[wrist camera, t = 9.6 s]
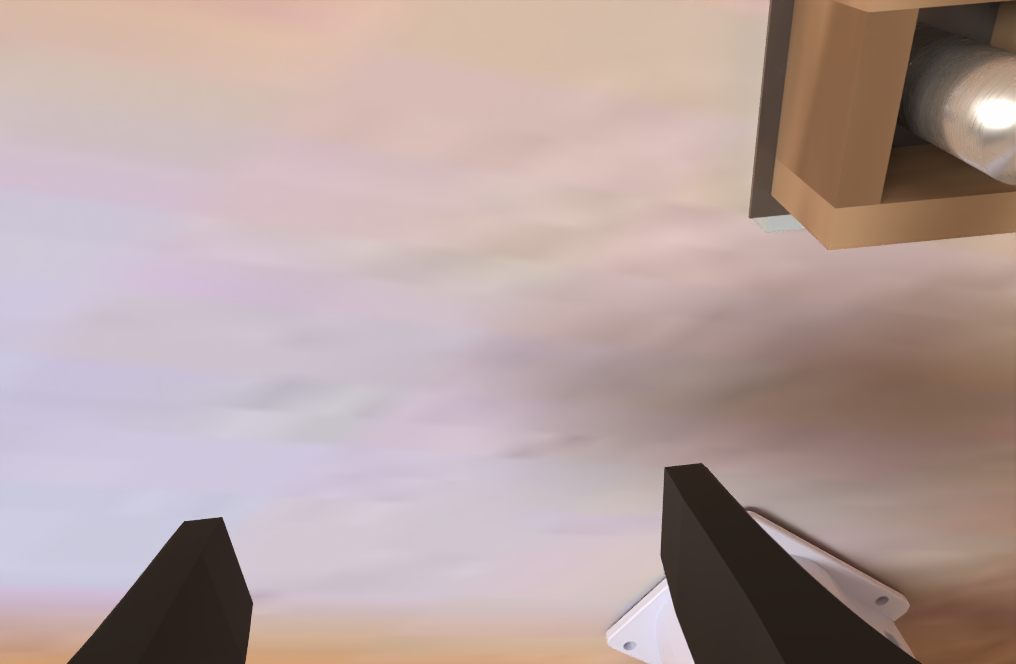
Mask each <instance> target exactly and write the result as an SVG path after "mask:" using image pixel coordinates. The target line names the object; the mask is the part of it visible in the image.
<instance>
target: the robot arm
mask: <svg viewBox="0 0 1016 664" xmlns="http://www.w3.org/2000/svg"><path fill="white" fill-rule="evenodd" d="M661 559H662V563H663V567H664V571H665V575H666V578H665V579H664V580H663V581H662V582H661V583H660V584H659V585H657V586H656V587H655V588H654V589H653V590H652V591H651V592H650V593H649V594H648V595H646V596H645V597H644V598H643V599H642V600H641V601H640V602H639V603H638V604H637V605H635V606H634V607H633V608H632V609H631V610H630V611H629V612H628V613H627V614H626V615H624V616H623V617H622V618H621V619H620V620H619V621H618V622H617V623H616V624H615V625H613V626H612V627H611V628H610V629H609V630H608V631H607V633H606V640H607V643H608V645H609V646H610V647H611V648H613V649H615V650H618V651H620V652H623V653H625V654H627V655H630V656H632V657H634V658H637V659H639V660H642V661H644V662H646V663H649V664H921V663H920V662H919V661H917V660H916V658H915V656H914V655H913V653H912V651H911V650H910V648H909V646H908V645H907V643H906V642H905V640H904V638H903V637H902V635H901V633H900V632H899V630H898V629H897V627H896V625H895V624H894V621H896V620H897V619H898V618H900V617H901V616H902V615H904V614H905V613H906V612H907V611H908V609H909V607H910V604H909V602H908V601H907V599H906V597H905V596H904V595H902V594H900V593H899V592H897V591H895V590H893V589H891V588H890V587H888V586H886V585H884V584H882V583H881V582H879V581H877V580H875V579H873V578H872V577H870V576H868V575H866V574H864V573H863V572H861V571H859V570H857V569H855V568H854V567H852V566H850V565H848V564H846V563H845V562H843V561H841V560H839V559H837V558H836V557H834V556H832V555H830V554H828V553H827V552H825V551H823V550H821V549H819V548H818V547H816V546H814V545H812V544H810V543H809V542H807V541H805V540H803V539H801V538H800V537H798V536H796V535H794V534H792V533H791V532H789V531H787V530H785V529H783V528H782V527H780V526H778V525H776V524H774V523H773V522H771V521H769V520H767V519H765V518H764V517H762V516H760V515H758V514H756V513H755V512H752V511H746V510H745V509H744V508H743V507H742V506H741V505H740V504H739V503H738V502H737V501H736V499H735V498H734V497H733V496H732V495H731V494H730V493H729V492H728V491H727V490H726V489H725V487H724V486H723V485H722V484H721V483H720V482H719V481H718V480H717V478H716V477H715V476H714V475H713V474H712V473H711V472H710V471H709V469H708V468H707V467H705V466H704V465H703V464H702V463H699V464H690V465H681V466H672V467H665V471H664V492H663V513H662V534H661ZM252 606H253V602H252V599H251V596H250V594H249V591H248V588H247V585H246V582H245V580H244V577H243V574H242V571H241V568H240V566H239V563H238V560H237V557H236V554H235V552H234V549H233V546H232V543H231V540H230V537H229V535H228V532H227V529H226V526H225V523H224V521H223V518H222V517H219V518H210V519H201V520H193V521H184V522H183V523H182V525H181V526H180V527H179V528H178V529H177V531H176V532H175V533H174V534H173V535H172V537H171V538H170V539H169V540H168V542H167V543H166V544H165V545H164V547H163V548H162V549H161V550H160V552H159V553H158V554H157V556H156V557H155V558H154V559H153V561H152V562H151V563H150V564H149V566H148V567H147V568H146V569H145V571H144V572H143V573H142V575H141V576H140V577H139V578H138V580H137V581H136V582H135V583H134V585H133V586H132V587H131V588H130V590H129V591H128V592H127V593H126V595H125V596H124V597H123V598H122V599H121V601H120V602H119V603H118V604H117V606H116V607H115V608H114V609H113V610H112V612H111V613H110V614H109V615H108V616H107V618H106V619H105V620H104V621H103V622H102V624H101V625H100V626H99V627H98V629H97V630H96V631H95V632H94V633H93V635H92V636H91V637H90V638H89V639H88V640H87V642H86V643H85V644H84V645H83V646H82V647H81V648H80V650H79V651H78V652H77V653H76V654H75V655H74V656H73V657H72V658H71V660H70V661H69V662H68V663H67V664H245V661H246V654H247V647H248V640H249V632H250V624H251V615H252Z"/></svg>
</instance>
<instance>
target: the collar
mask: <svg viewBox="0 0 1016 664" xmlns="http://www.w3.org/2000/svg"><path fill="white" fill-rule="evenodd" d="M999 1H1001V2H1000V6H999V10H998V14H997V18H996V22H995V26H994V30H993V34H992V38H991V42H990V45H992V46H995V47H998V48H1001V49H1004V50H1008V51H1011V52H1014V53H1016V0H795V2H794V10H793V18H792V26H791V35H790V43H789V51H788V60H787V68H786V76H785V84H784V93H783V101H782V109H781V118H780V126H779V134H778V142H777V151H776V159H775V167H774V176H773V184H772V192H771V195H772V196H773V197H774V198H775V199H776V200H777V201H778V202H779V203H780V204H781V205H782V206H783V207H784V208H785V209H786V210H787V211H788V212H789V213H790V214H791V215H792V216H793V217H794V218H795V219H796V220H798V221H799V222H800V223H801V224H802V225H803V226H804V227H805V228H806V229H807V230H808V231H809V232H810V233H811V234H812V235H813V236H814V237H815V238H816V239H817V240H818V241H819V242H820V243H821V244H822V245H823V246H824V247H825V248H827V249H828V250H836V249H846V248H857V247H867V246H877V245H888V244H898V243H909V242H919V241H929V240H940V239H950V238H961V237H971V236H981V235H992V234H1002V233H1013V232H1016V185H1009V184H1006V183H1003V182H1000V181H998V180H996V179H994V178H993V177H991V176H989V175H987V174H986V173H984V172H982V171H980V170H978V169H977V168H975V167H973V166H971V165H969V164H968V163H966V162H964V161H962V160H960V159H959V158H957V157H955V156H953V155H951V154H950V153H948V152H946V151H944V150H942V149H941V148H939V147H937V146H935V145H933V144H924V145H913V146H902V147H892V142H893V137H894V132H895V127H896V122H897V117H898V112H899V107H900V102H901V97H902V92H903V87H904V82H905V77H906V72H907V67H908V62H909V57H910V52H911V47H912V42H913V37H914V32H915V27H916V21H917V16H918V11H919V8H927V7H939V6H951V5H963V4H975V3H987V2H999Z"/></svg>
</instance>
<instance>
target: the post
mask: <svg viewBox="0 0 1016 664" xmlns="http://www.w3.org/2000/svg"><path fill="white" fill-rule="evenodd" d="M794 2H795V0H770V6H769V17H768V27H767V37H766V47H765V57H764V67H763V77H762V87H761V97H760V107H759V117H758V127H757V137H756V147H755V157H754V167H753V177H752V188H751V198H750V208H749V218H760V217H770V216H780V215H790V213H789V212H788V211H787V210H786V209H785V208H784V207H783V206H782V205H781V204H780V203H779V202H778V201H777V200H776V199H775V198H774V197H773V196H772V195H771V192H772V184H773V176H774V167H775V159H776V151H777V142H778V134H779V126H780V118H781V109H782V101H783V93H784V84H785V76H786V68H787V60H788V51H789V43H790V35H791V26H792V18H793V10H794ZM1000 2H1001V1H999V2H987V3H975V4H963V5H951V6H939V7H927V8H919V11H918V16H917V21H916V27H915V32H914V37H913V42H912V47H911V52H910V57H909V62H908V67H907V72H906V77H905V82H904V87H903V92H902V97H901V102H900V107H899V112H898V117H897V122H896V127H895V132H894V137H893V142H892V147H902V146H913V145H924V144H933V145H935V146H937V147H939V148H941V149H942V150H944V151H946V152H948V153H950V154H951V155H953V156H955V157H957V158H959V159H960V160H962V161H964V162H966V163H968V164H969V165H971V166H973V167H975V168H977V169H978V170H980V171H982V172H984V173H986V174H987V175H989V176H991V177H993V178H994V179H996V180H998V181H1000V182H1003V183H1006V184H1009V185H1016V53H1014V52H1011V51H1008V50H1004V49H1001V48H998V47H995V46H992V45H990V42H991V38H992V34H993V30H994V26H995V22H996V18H997V14H998V10H999V6H1000Z"/></svg>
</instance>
